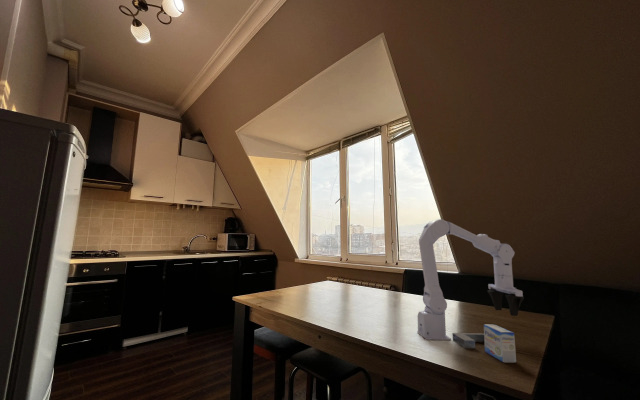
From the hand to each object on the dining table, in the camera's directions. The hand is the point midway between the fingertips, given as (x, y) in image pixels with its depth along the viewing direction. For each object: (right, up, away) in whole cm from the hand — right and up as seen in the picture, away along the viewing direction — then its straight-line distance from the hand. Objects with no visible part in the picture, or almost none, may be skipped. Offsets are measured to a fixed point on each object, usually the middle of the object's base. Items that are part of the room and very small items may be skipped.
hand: (505, 312), depth 98 cm
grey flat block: (-13, -9, -6) cm, 17 cm away
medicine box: (-13, -8, -16) cm, 22 cm away
